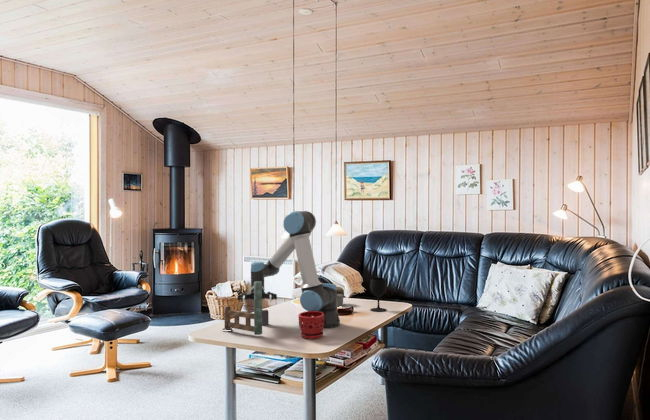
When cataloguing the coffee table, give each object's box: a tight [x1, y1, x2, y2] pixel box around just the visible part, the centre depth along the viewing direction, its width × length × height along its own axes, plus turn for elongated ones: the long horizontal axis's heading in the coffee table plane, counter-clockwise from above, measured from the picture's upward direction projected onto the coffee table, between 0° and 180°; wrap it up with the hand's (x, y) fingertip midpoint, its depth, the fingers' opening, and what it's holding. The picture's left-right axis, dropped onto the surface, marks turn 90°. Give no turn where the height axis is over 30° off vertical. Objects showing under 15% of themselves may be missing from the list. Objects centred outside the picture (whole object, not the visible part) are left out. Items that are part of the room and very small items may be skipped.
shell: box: [336, 286, 345, 298], centre depth 344 cm, size 11×11×12 cm
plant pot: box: [297, 310, 324, 340], centre depth 262 cm, size 13×13×12 cm
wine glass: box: [369, 277, 388, 313], centre depth 326 cm, size 10×10×20 cm
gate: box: [223, 281, 263, 336], centre depth 270 cm, size 26×4×27 cm, turn 55°
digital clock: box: [337, 294, 344, 307], centre depth 325 cm, size 16×9×11 cm, turn 88°
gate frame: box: [222, 309, 269, 331], centre depth 283 cm, size 5×27×8 cm, turn 127°
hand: (257, 300), depth 262 cm, fingers open, 13 cm apart
